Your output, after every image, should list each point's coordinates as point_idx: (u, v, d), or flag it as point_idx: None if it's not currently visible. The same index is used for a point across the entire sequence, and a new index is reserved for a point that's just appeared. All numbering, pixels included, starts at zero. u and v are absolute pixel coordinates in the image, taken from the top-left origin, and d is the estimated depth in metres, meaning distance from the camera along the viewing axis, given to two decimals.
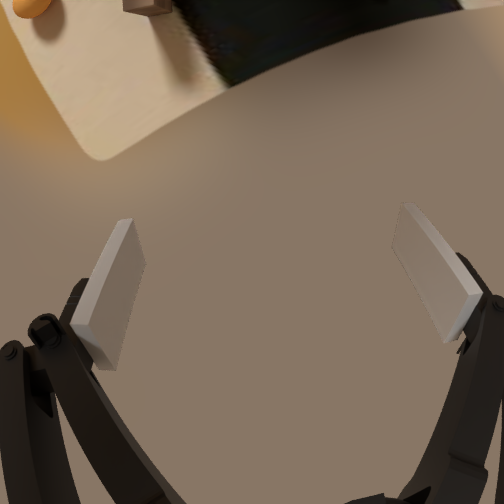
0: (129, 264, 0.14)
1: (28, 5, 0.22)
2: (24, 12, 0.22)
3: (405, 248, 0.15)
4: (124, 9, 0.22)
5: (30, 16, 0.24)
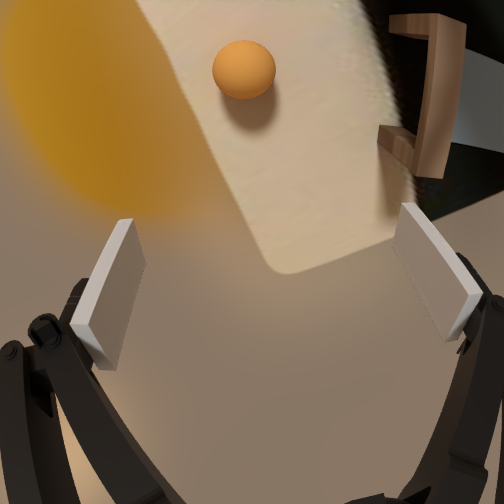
0: (129, 264, 0.14)
1: (253, 87, 0.24)
2: (243, 93, 0.25)
3: (405, 248, 0.15)
4: (417, 174, 0.25)
5: (243, 98, 0.26)
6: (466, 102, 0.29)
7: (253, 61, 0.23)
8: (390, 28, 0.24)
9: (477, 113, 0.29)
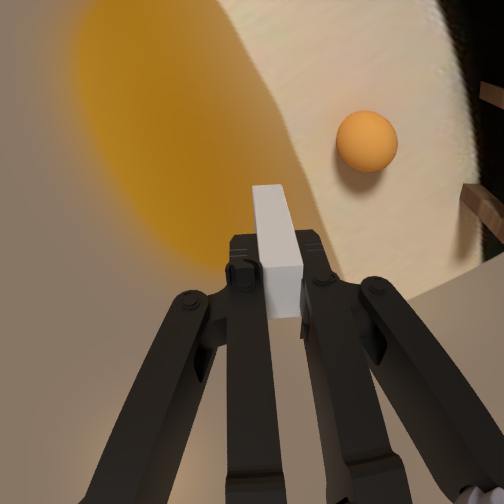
0: None
1: (383, 165, 0.25)
2: (371, 170, 0.26)
3: None
4: (503, 242, 0.25)
5: None
6: None
7: (386, 141, 0.23)
8: (482, 95, 0.24)
9: None
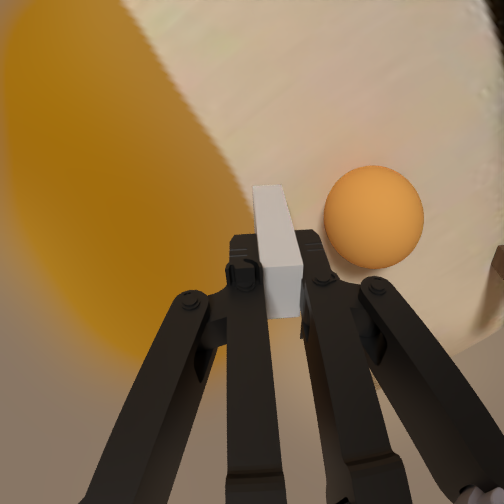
0: None
1: (398, 261, 0.15)
2: (378, 268, 0.16)
3: None
4: None
5: None
6: None
7: (407, 227, 0.14)
8: None
9: None
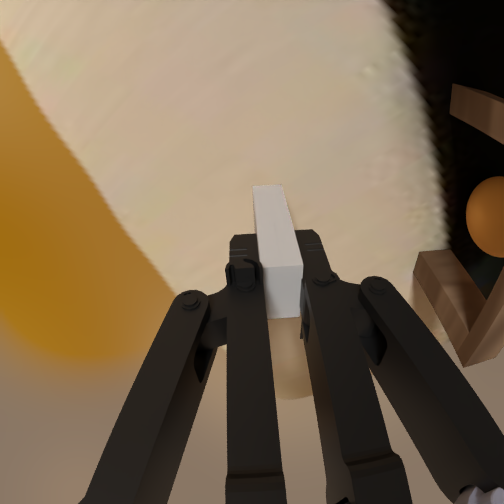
0: None
1: None
2: None
3: None
4: (465, 365, 0.16)
5: None
6: None
7: None
8: (454, 108, 0.15)
9: None
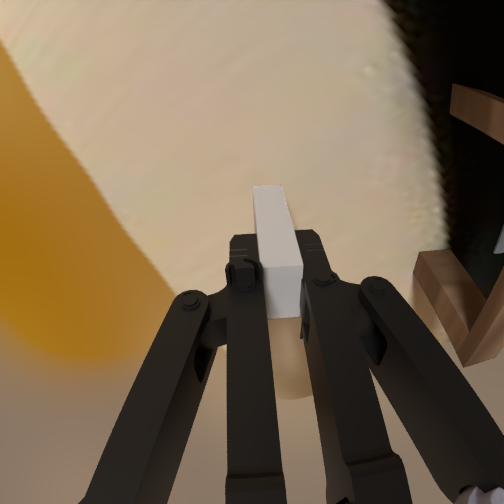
0: None
1: None
2: None
3: None
4: (465, 365, 0.16)
5: None
6: None
7: None
8: (454, 108, 0.15)
9: None
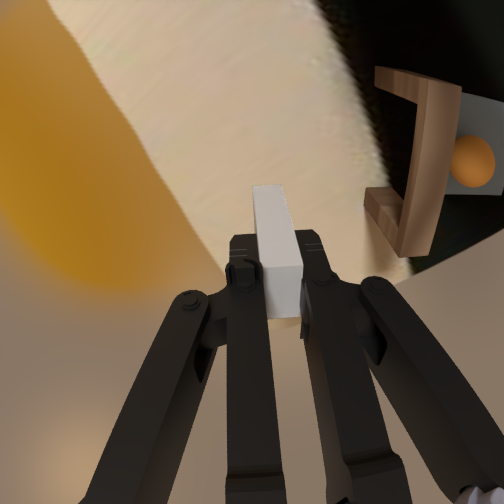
0: None
1: None
2: None
3: None
4: (400, 256, 0.25)
5: None
6: None
7: None
8: (376, 82, 0.24)
9: None
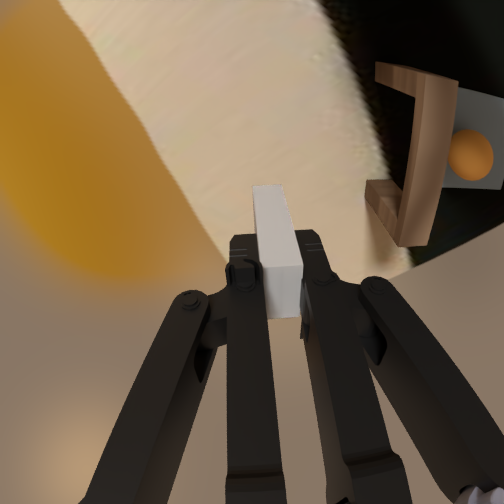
0: None
1: None
2: None
3: None
4: (399, 245, 0.26)
5: None
6: None
7: None
8: (377, 76, 0.25)
9: None
